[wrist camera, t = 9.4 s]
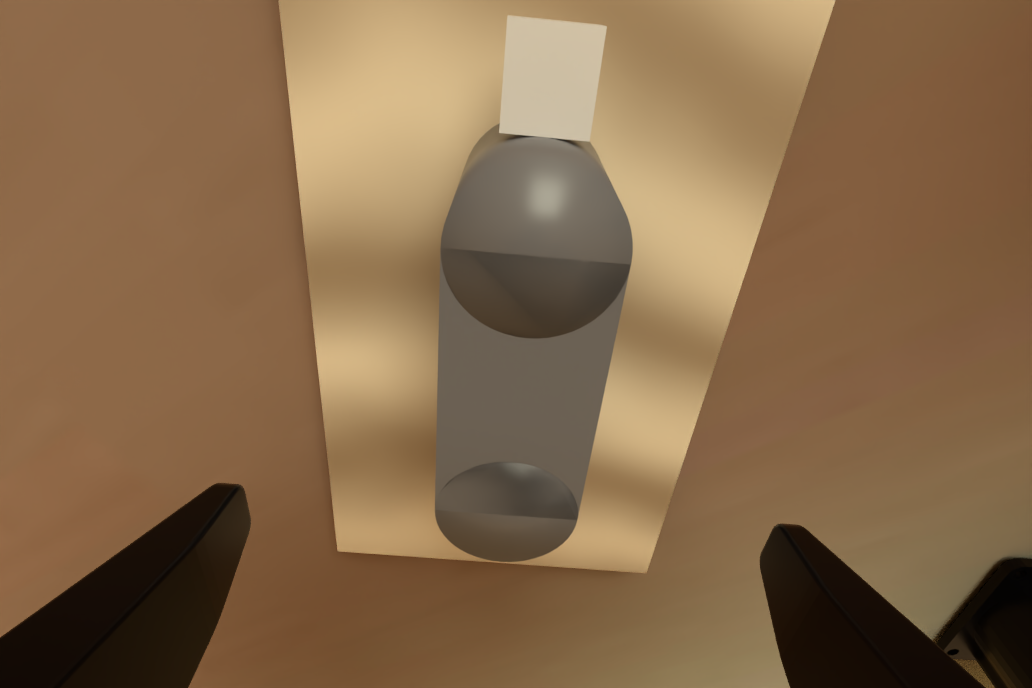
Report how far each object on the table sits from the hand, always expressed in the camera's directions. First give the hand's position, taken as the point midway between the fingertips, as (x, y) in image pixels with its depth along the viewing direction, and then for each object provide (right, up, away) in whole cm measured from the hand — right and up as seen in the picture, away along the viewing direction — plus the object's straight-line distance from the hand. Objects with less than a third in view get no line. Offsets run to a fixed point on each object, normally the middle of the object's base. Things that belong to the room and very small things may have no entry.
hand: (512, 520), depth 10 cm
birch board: (0, +5, +8) cm, 9 cm away
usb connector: (0, +4, +7) cm, 8 cm away
